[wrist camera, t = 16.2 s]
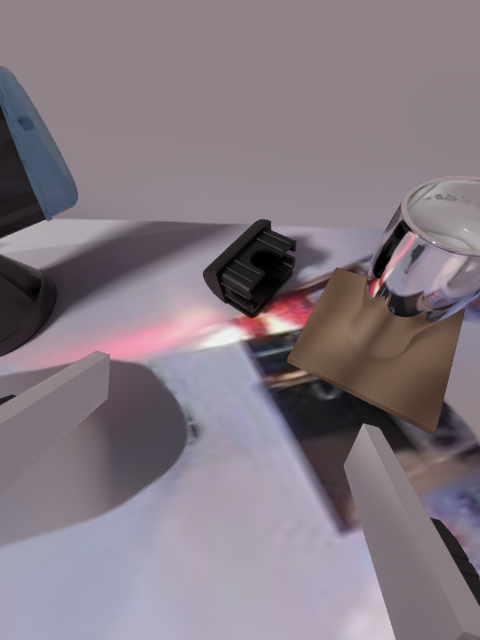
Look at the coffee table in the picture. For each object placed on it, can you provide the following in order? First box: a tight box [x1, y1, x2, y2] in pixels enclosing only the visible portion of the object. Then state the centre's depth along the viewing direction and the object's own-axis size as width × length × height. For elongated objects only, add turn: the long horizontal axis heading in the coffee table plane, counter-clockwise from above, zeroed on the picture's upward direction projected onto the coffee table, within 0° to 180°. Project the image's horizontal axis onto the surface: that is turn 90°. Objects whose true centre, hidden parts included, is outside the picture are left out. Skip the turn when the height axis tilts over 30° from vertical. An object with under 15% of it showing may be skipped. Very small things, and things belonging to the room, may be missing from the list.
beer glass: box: [346, 175, 480, 360], centre depth 20 cm, size 7×7×15 cm
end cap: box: [203, 219, 296, 318], centre depth 31 cm, size 10×7×7 cm
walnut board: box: [287, 267, 465, 433], centre depth 27 cm, size 14×14×1 cm
